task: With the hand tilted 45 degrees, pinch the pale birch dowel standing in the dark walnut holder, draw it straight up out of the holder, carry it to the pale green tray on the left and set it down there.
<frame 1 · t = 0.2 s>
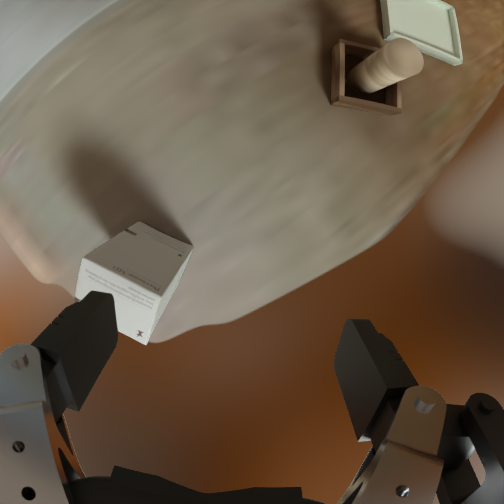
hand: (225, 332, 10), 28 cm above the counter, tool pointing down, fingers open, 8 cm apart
dowel: (380, 69, 26), in the holder
holder: (361, 81, 32), on the counter
tray: (418, 22, 29), on the counter
skincare box: (157, 252, 38), on the counter
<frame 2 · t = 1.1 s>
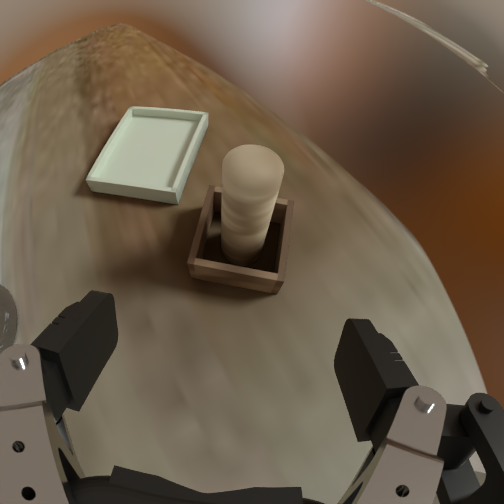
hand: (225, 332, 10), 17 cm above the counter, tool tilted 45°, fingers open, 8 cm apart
dowel: (246, 214, 24), in the holder
holder: (241, 247, 30), on the counter
tray: (151, 154, 34), on the counter
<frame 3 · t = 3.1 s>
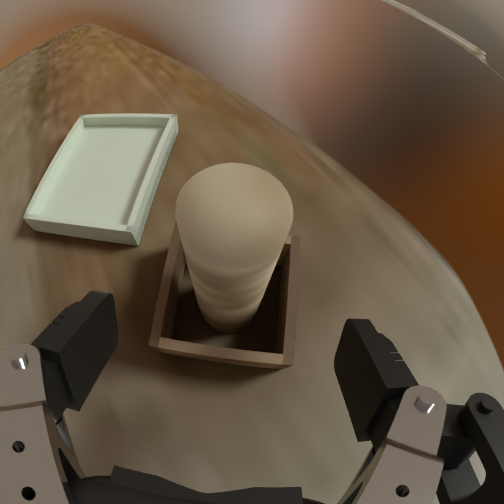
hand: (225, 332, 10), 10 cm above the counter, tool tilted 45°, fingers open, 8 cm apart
dowel: (230, 273, 16), in the holder
holder: (228, 304, 21), on the counter
tray: (105, 176, 25), on the counter
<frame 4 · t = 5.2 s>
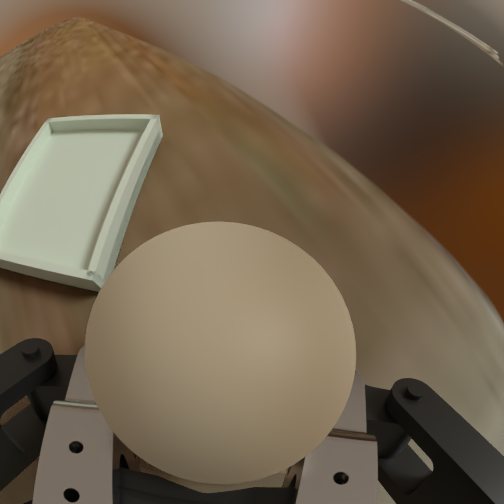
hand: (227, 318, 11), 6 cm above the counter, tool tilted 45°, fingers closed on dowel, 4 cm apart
dowel: (222, 371, 9), in the holder, touching gripper
tray: (70, 195, 19), on the counter
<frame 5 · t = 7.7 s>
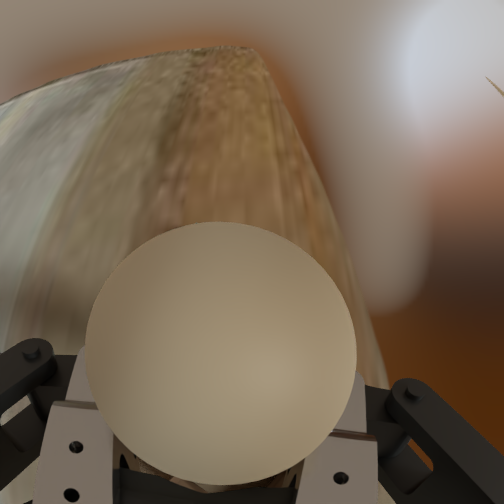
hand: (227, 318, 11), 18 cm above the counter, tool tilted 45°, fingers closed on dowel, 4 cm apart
dowel: (223, 372, 9), point 19 cm above the counter, touching gripper
holder: (234, 471, 22), on the counter
when the fingers open (8 cm above the counter, at t = 10.4 s): dowel drops 1 cm, resting on tray.
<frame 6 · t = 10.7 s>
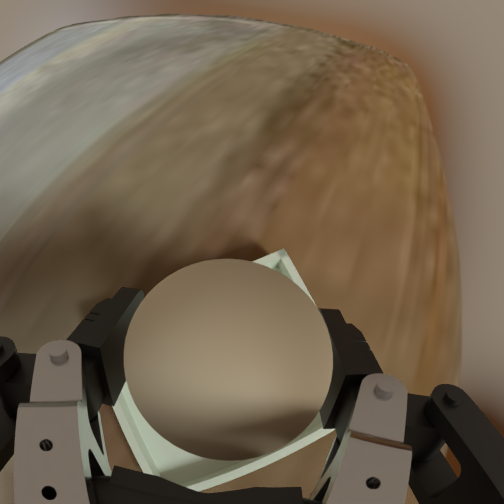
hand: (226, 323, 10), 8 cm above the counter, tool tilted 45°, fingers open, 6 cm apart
dowel: (225, 374, 11), in the tray, point 7 cm above the counter
tray: (224, 379, 17), on the counter
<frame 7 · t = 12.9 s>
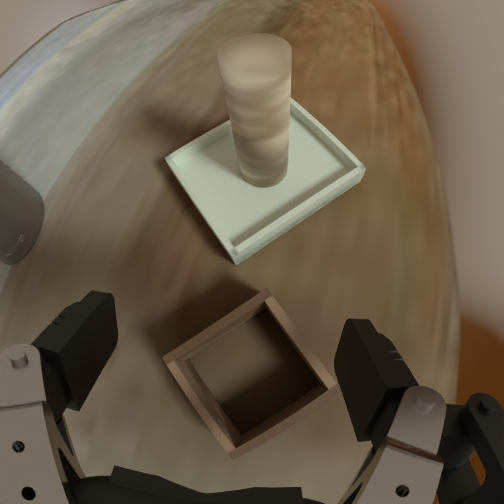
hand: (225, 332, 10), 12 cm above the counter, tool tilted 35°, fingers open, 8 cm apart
dowel: (260, 119, 19), in the tray, point 7 cm above the counter
holder: (253, 373, 21), on the counter
tray: (263, 173, 26), on the counter
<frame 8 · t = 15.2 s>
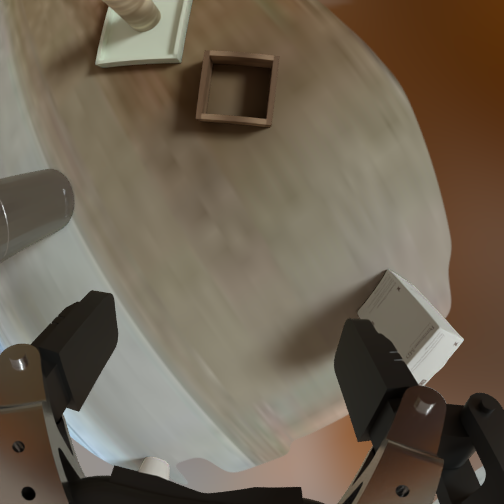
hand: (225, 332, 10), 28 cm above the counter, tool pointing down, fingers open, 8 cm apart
dowel: (129, 1, 22), in the tray, point 7 cm above the counter
foam cup: (156, 462, 56), on the counter
holder: (238, 91, 32), on the counter
tray: (148, 21, 28), on the counter
skincare box: (384, 299, 41), on the counter
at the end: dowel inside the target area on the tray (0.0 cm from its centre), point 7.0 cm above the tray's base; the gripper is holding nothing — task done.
